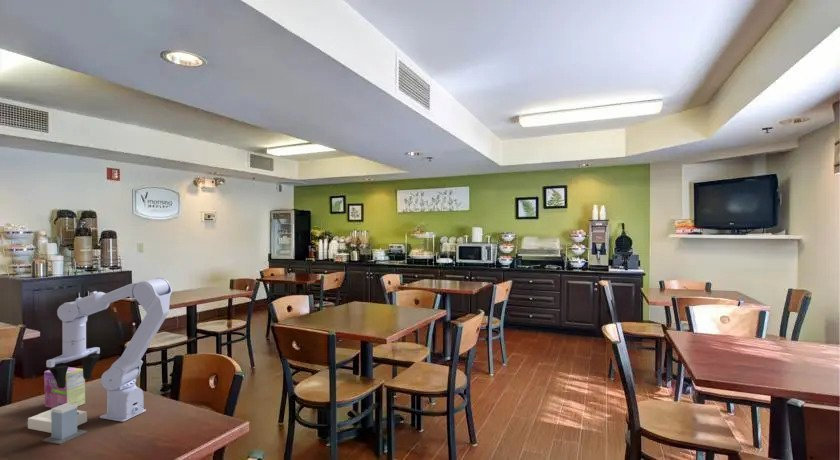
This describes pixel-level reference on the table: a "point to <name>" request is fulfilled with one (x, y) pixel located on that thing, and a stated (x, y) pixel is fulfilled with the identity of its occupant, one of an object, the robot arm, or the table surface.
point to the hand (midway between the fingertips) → (74, 383)
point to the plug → (63, 421)
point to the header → (44, 420)
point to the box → (65, 389)
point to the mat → (60, 441)
